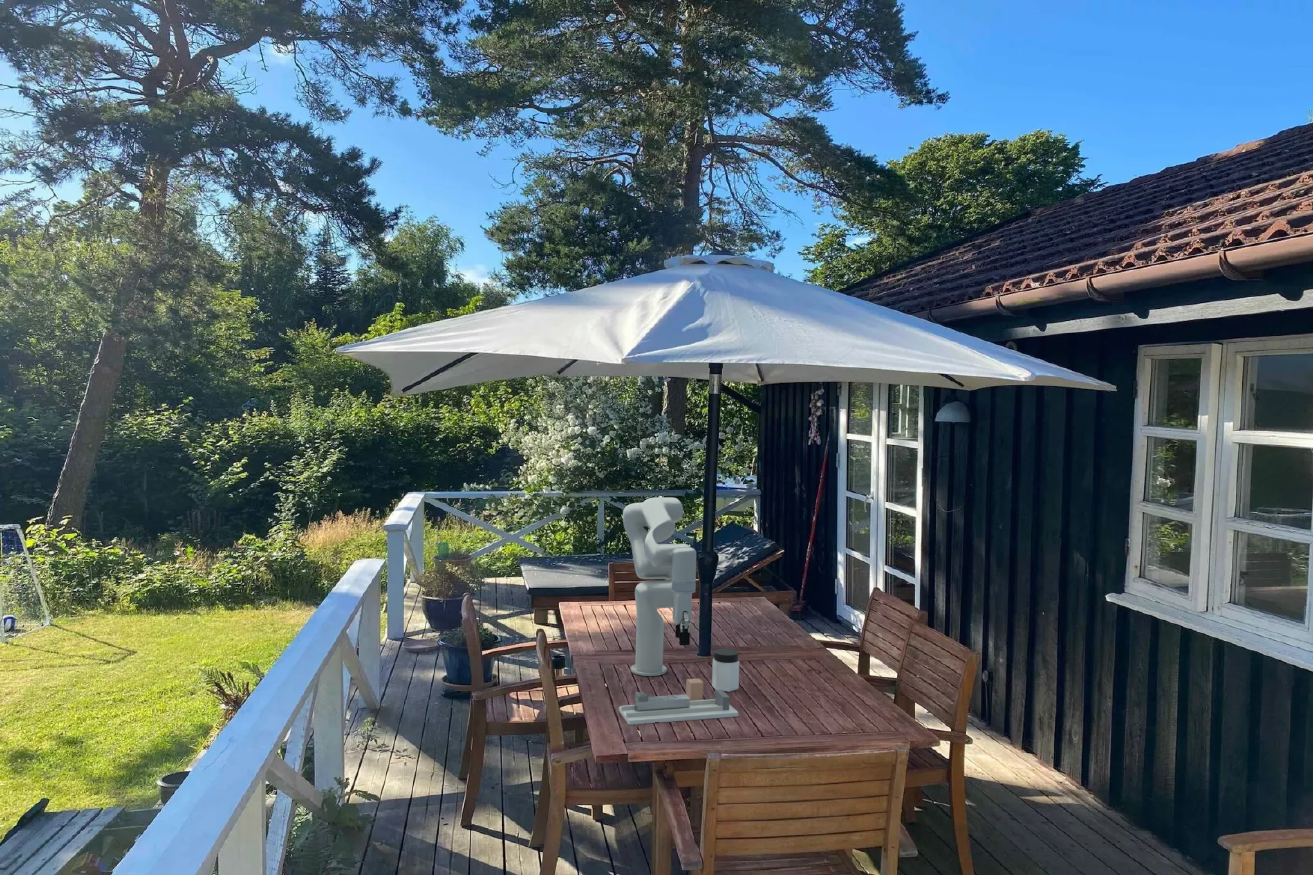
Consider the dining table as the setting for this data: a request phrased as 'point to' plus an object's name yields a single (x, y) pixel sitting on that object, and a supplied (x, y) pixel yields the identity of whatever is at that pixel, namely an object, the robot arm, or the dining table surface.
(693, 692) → the block
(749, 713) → the dining table surface
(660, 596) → the robot arm
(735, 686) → the jar
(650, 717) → the grey slide rail track
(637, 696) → the grey sliding carriage block
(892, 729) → the dining table surface
